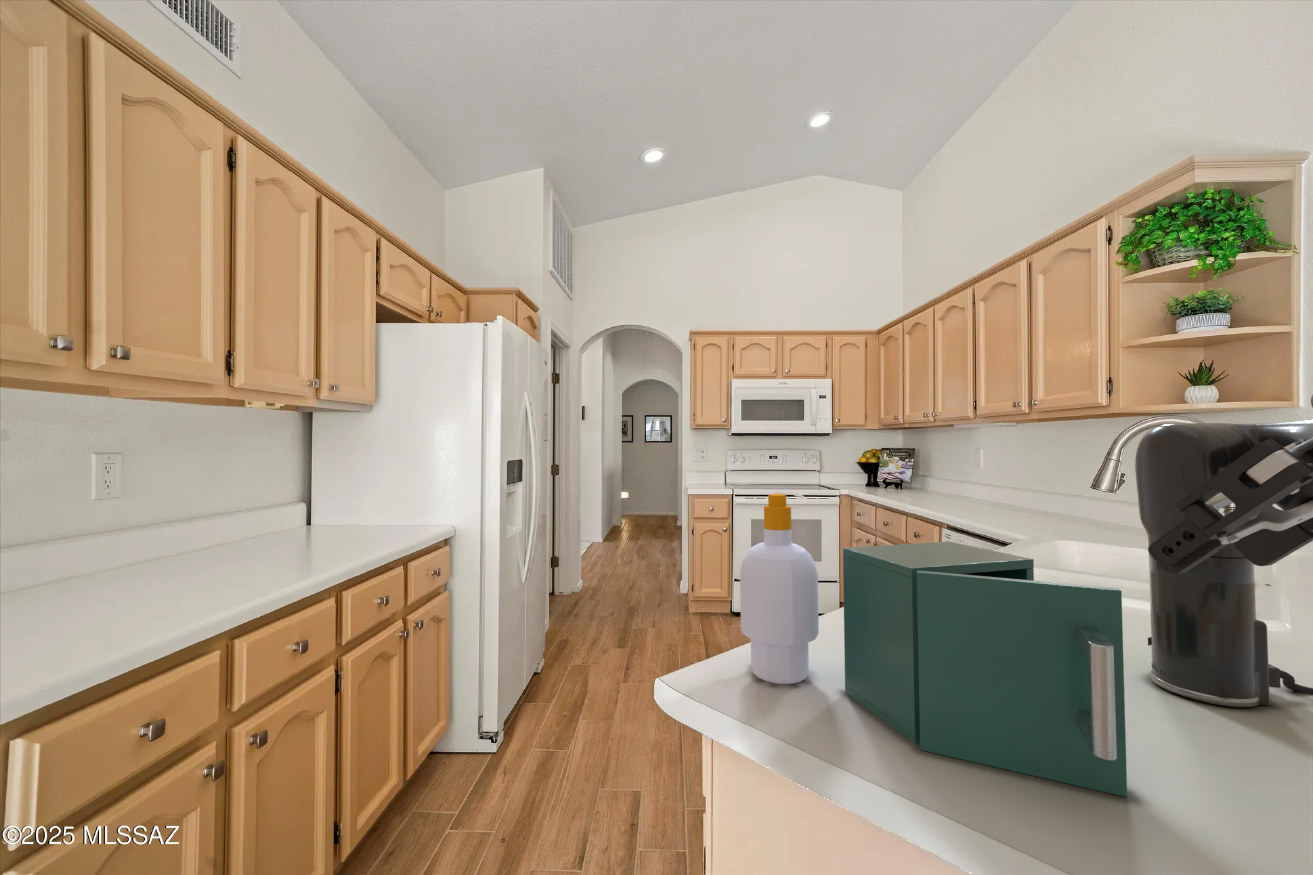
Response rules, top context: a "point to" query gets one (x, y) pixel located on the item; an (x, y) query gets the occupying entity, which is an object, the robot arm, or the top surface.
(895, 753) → the top surface
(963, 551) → the box
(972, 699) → the fridge door
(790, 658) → the soap bottle
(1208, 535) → the robot arm
